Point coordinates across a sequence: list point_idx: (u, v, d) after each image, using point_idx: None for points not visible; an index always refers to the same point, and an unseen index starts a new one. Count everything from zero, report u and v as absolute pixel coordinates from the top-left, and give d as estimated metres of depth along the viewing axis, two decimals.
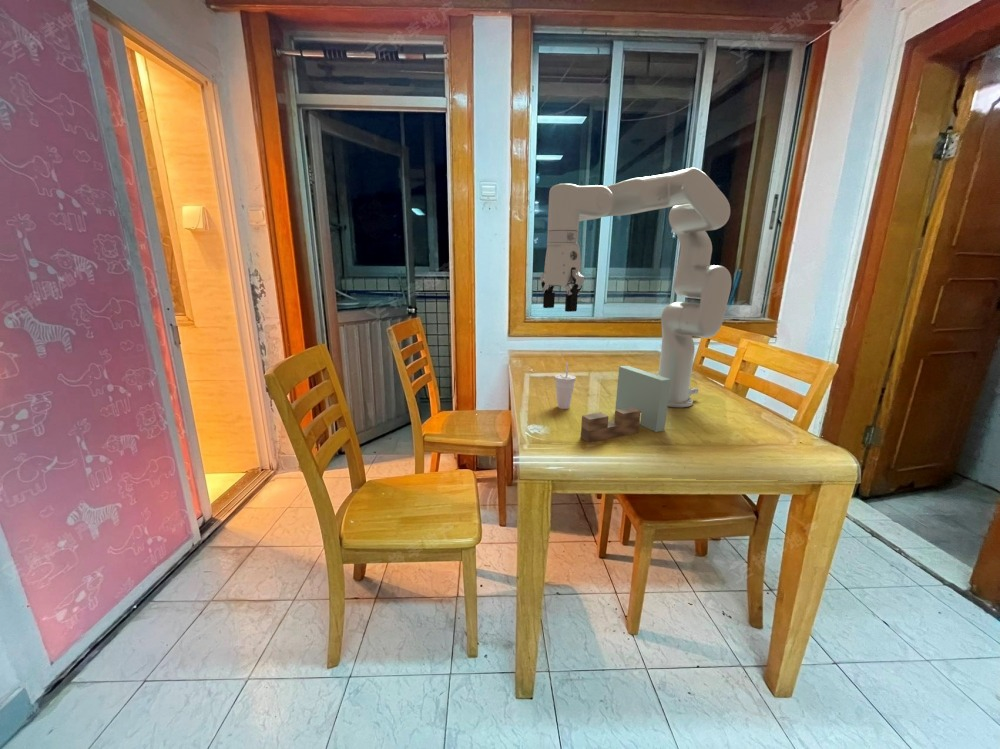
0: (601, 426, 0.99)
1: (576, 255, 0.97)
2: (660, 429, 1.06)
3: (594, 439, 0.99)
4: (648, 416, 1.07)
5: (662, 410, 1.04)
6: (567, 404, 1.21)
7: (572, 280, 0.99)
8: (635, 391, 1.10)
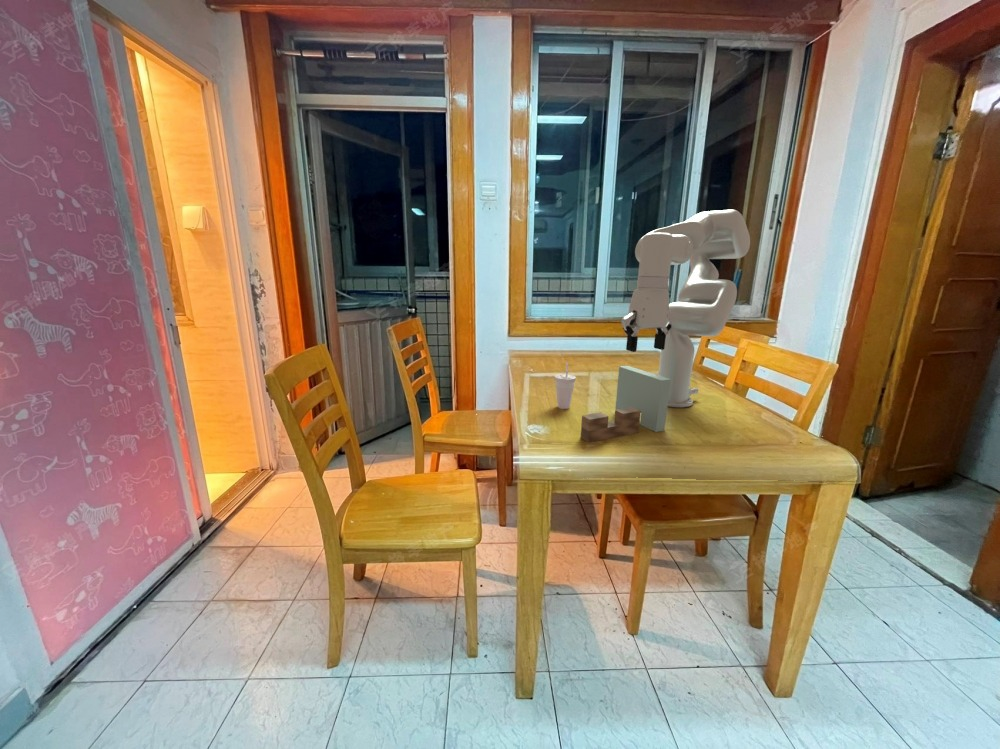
0: (601, 426, 0.99)
1: None
2: (660, 429, 1.06)
3: (594, 439, 0.99)
4: (648, 416, 1.07)
5: (662, 410, 1.04)
6: (567, 404, 1.21)
7: None
8: (635, 391, 1.10)
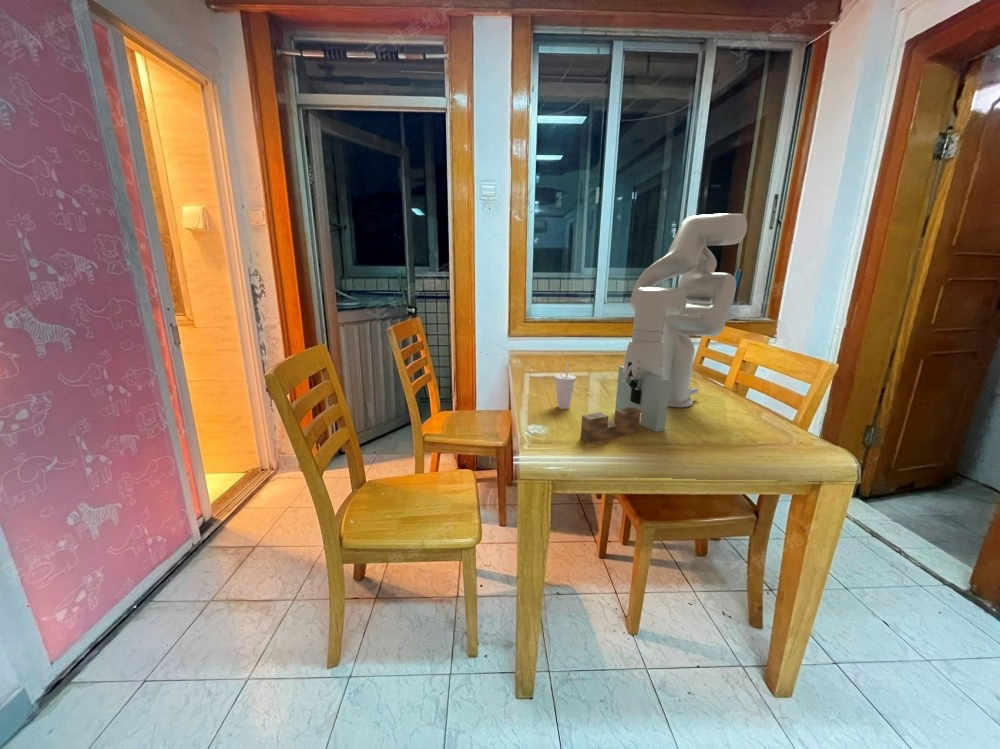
0: (601, 426, 0.99)
1: None
2: (660, 429, 1.06)
3: (594, 439, 0.99)
4: (648, 416, 1.07)
5: (662, 410, 1.04)
6: (567, 404, 1.21)
7: None
8: None
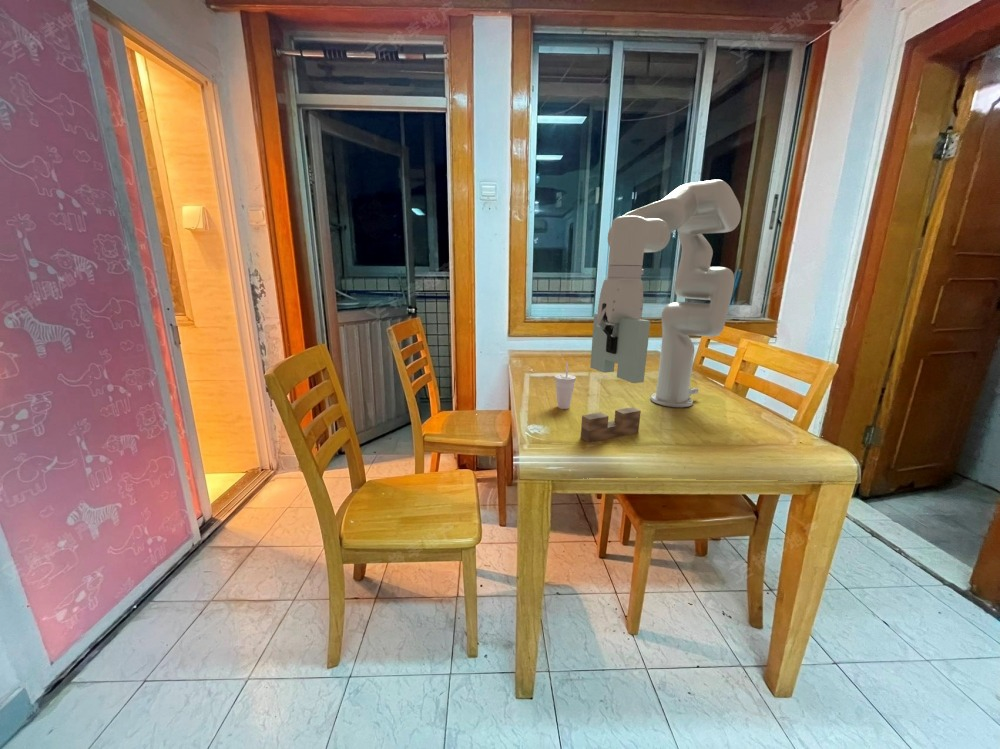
0: (601, 426, 0.99)
1: None
2: (639, 380, 0.91)
3: (594, 439, 0.99)
4: (625, 365, 0.93)
5: (641, 357, 0.90)
6: (567, 404, 1.21)
7: None
8: None
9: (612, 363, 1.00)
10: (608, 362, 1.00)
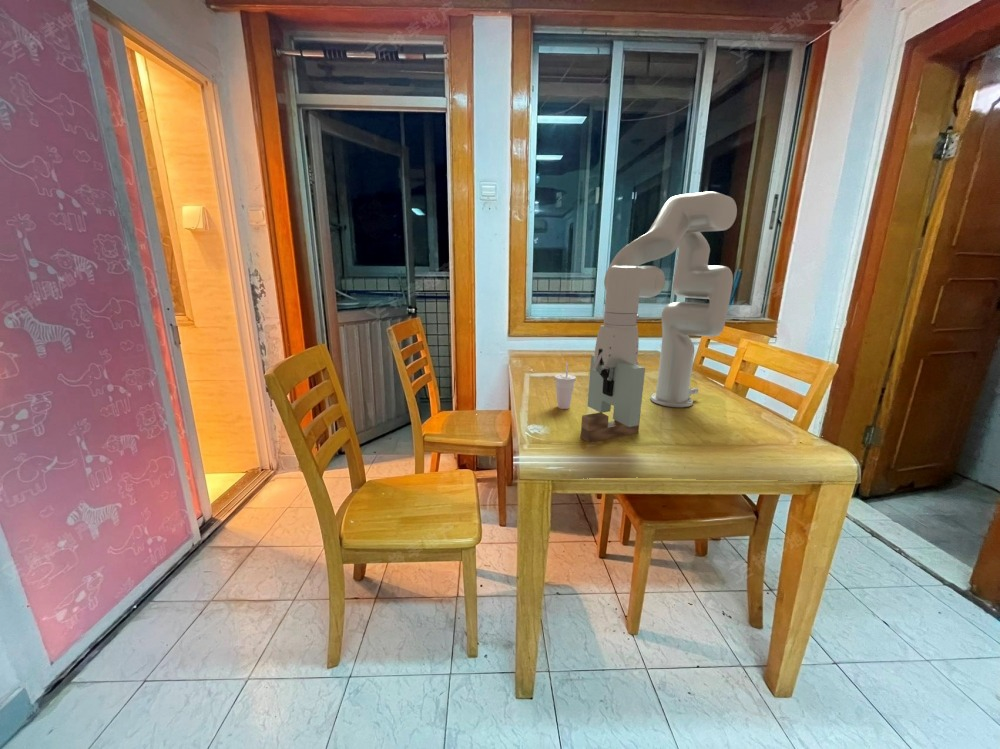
0: (601, 426, 0.99)
1: None
2: (634, 424, 0.94)
3: (594, 439, 0.99)
4: (621, 409, 0.96)
5: (636, 402, 0.93)
6: (567, 404, 1.21)
7: None
8: None
9: (608, 403, 1.03)
10: (605, 402, 1.02)
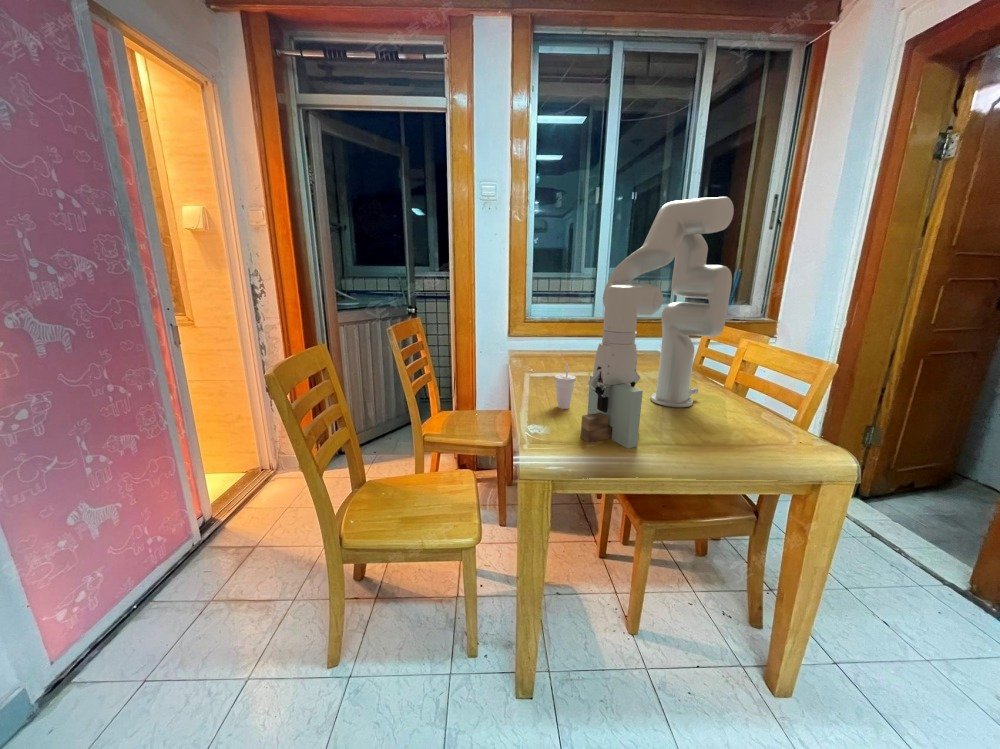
0: (601, 426, 0.99)
1: None
2: (632, 445, 0.96)
3: (594, 439, 0.99)
4: (619, 430, 0.97)
5: (634, 425, 0.94)
6: (567, 404, 1.21)
7: None
8: None
9: None
10: None
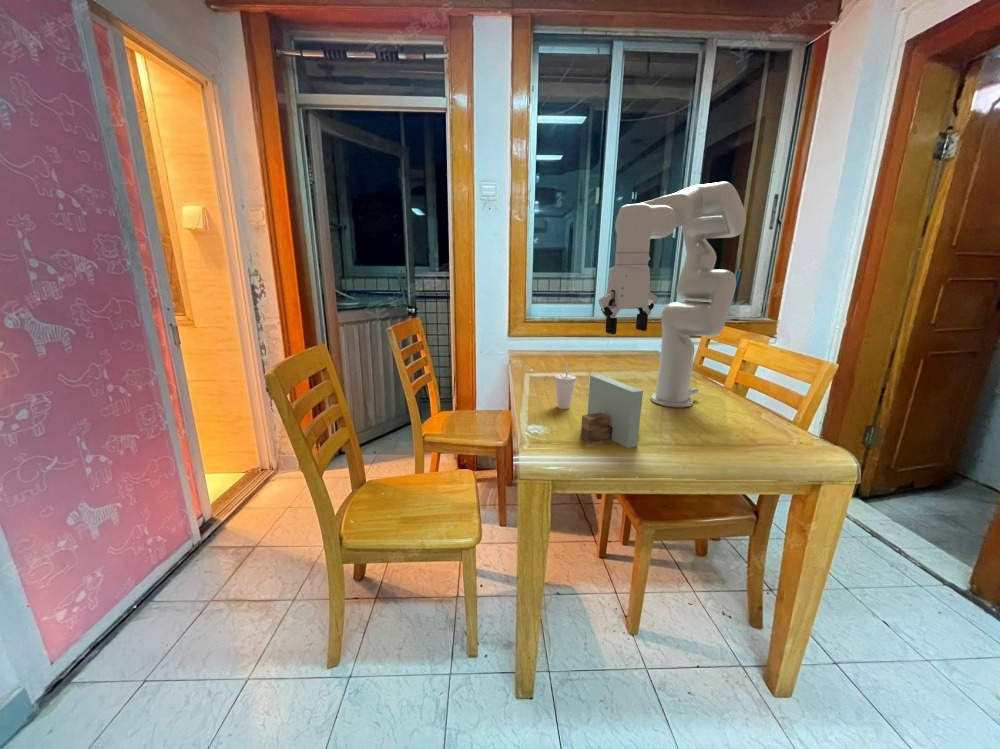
0: (601, 426, 0.99)
1: None
2: (632, 445, 0.96)
3: (594, 439, 0.99)
4: (619, 430, 0.97)
5: (634, 425, 0.94)
6: (567, 404, 1.21)
7: None
8: (606, 402, 1.00)
9: None
10: None
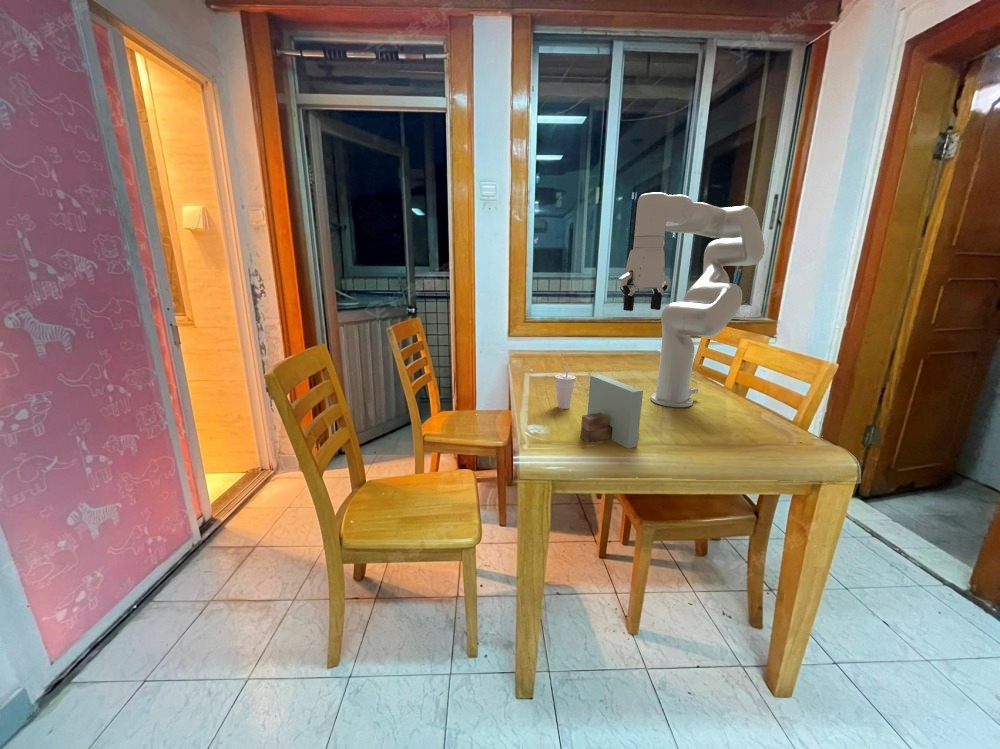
0: (601, 426, 0.99)
1: None
2: (632, 445, 0.96)
3: (594, 439, 0.99)
4: (619, 430, 0.97)
5: (634, 425, 0.94)
6: (567, 404, 1.21)
7: None
8: (606, 402, 1.00)
9: None
10: None
